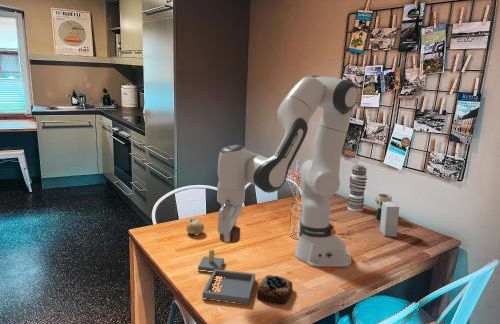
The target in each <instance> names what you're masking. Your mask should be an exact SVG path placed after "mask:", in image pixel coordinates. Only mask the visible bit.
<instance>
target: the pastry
mask: <svg viewBox="0 0 500 324" xmlns="http://www.w3.org/2000/svg"><path fill="white" fill-rule="evenodd" d="M292 291H293V282H292V281H291V280H289V279H287V278H285V277H282V276H279V275H270V274H268V275H266V276H265V277H264V278H263V279H262V280H261V281H260V283H259V285H258V287H257V293H256V295H257V297H256V299H257V298H258V299H257V300H259V299H260V301H262V300H263V301H262V302H265V301H266V303H269V302H270V303H269V304H274V303H275V305H281V304H284V305H285V304H286V303H287V301H288V300H289V298H290V296H291V293H292Z"/></svg>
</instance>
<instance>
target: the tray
mask: <svg viewBox="0 0 500 324" xmlns="http://www.w3.org/2000/svg"><path fill="white" fill-rule="evenodd" d="M216 276H220V277H221V276H222V277H223V278H222V279H221V280H222V281H220V284H219V288H220V286H221V285H222V287H221V289H220V290H221V291H220V292H218V291H216V292H214V291H215V289H216V288H214V290H212V288H213V286H214V285H213V286H212V284H214V283H215V281H216V280H214V279H216V278H215V277H216ZM224 277H225V278H224ZM218 280H219V279H218ZM218 282H219V281H217V282H216V283H218ZM254 282H256V273H254V272H253V273H252V272H244V271H243V272H242V271H234V270H225V269H221V270H217V269H214V271H213V273H211V275H210V276H209V279H208V281H207V283H206V285H205V287H204V288H203V291H202V299H203V298H206V299H213V300H214V299H215V300H220V301H228V302H235V303H241V304H240V305H242V304H249V305H250V302H251V298H250V297H252V294H253V289H254V287H253V286H255V283H254ZM215 286H216V287H217V284H216V285H215ZM209 290H210V292H209ZM217 292H218V293H217ZM249 301H250V302H249Z"/></svg>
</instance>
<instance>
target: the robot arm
mask: <svg viewBox="0 0 500 324" xmlns="http://www.w3.org/2000/svg"><path fill="white" fill-rule="evenodd" d="M358 100H359V88H358V86H357V84H356V83H354V82H352V81H351V80H349V79H342V78H338V77H335V76H320V75H310V76H304V77H303V78H301V79H300V80H299V81H298V82H296V84H295V85H294V86H293V87H292V88H291V89H290V91H288V93H287V94H286V96H285V97H284V99H283V100H282V101H281V103H280V105H279V106H278V108H277V121H278V123H279V124H280V125H281V127H282V128H283V129H284V135H283V138H282V140H281V142H280V144H279V146H278V147H277V149H276V151H275V153H274V155H272V156H271V157H266V156H263V155H261V154H258V153H255V152H252V151H250V150H248V149H246V148H245V147H244V146H243V145H239V144H232V145H227V146H224V147H223V148H221V150H220V151H219V155H218V161H217V176H218V182H217V187H216V188H217V191H216V193H217V194H216V198H217V199H216V201H217V202H218V204H220V206H221V207H220V208H219V211H218V219H217V233H218V234H219V235H220V234H224V241H225V242H229V241H230V239H231V238H230V237H231V235H230V232H231V230H232V228H233V226H237V221H238V218H239V217H240V215H241V213H242V210H243V209H242V208H243V204H244V203H245V198H246V196H245V195H246V184H252V185H254V186H255V187H257V188H259V189H260V190H261V191H262V192H264V193H268V194H270V193H274V192H277V191H278V190H280V189H281V188H282V187H283V186H284V185H285V183H286V180H287V177H288V173H289V170H290V168H291V166H292V164H293V162H294V160H295V159H296V156H297V155H298V152H299V150H300V148H301V147H302V145H303V142H304V141H305V139H306V136H307V134H308V128H309V126H308V125H309V122H310V120H311V119H312V117H313V115H314V113H315V112H316V110H317V109H318V108H319V107H320V108H322V109H323V111H322V113H321V116H320V119H319V122H318V125H317V129H316V132H315V136H314V140H313V144H312V149H313V150H312V158H311V159H307V160H305V161H304V162H303V163H302V164H301V166H300V170H299V172H300V182H301V183H300V184H301V186H300V187H301V188H300V189H301V200H302V202H301V203H302V205H301V220H300V223H299V230H298V233H299V239H298V243H297V245H296V248H295V252H294V254H295V256H296V258H297V259H298V260H300V261H302V262H304V263H307V264H308V265H309V266H310V267H324V268H325V267H330V268H331V267H332V268H333V267H339V268H343V267H345V268H348V267H350V266H351V264H352V256H351V253H350V252H349V251H348V250H347V247H346V244H345V243H344V240H342V239H341V237H339V236H338V235H337V234H336V233H337V232H336V229H335V227H334V225H333V223H332V222H331V223H330V215H331V201H330V197H331V196H333V195H335V194H336V193H337V192H338V190H339V188H340V186H341V181H340V168H341V167H340V166H341V159H342V157H341V156H342V152H343V148H344V145H345V140H346V138H347V134H348V130H349V126H350V122H351V115H352V109H353V108H354V107H355V106H356V104H357V102H358ZM225 242H224V243H225Z"/></svg>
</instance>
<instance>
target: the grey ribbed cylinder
mask: <svg viewBox="0 0 500 324" xmlns="http://www.w3.org/2000/svg"><path fill="white" fill-rule="evenodd" d="M367 170H368V169H367V168H366V167H365V166H364V165H361V164H356V165H354V166H353V167H351V176H349V195H348V199H347V200H348V202H347V209H348V210H350V211H352V212H362V211H363V210H364V205H365V204H364V202H365V190H366V186H367V184H366V183H367V180H368V178H367V177H368V176H367Z"/></svg>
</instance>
